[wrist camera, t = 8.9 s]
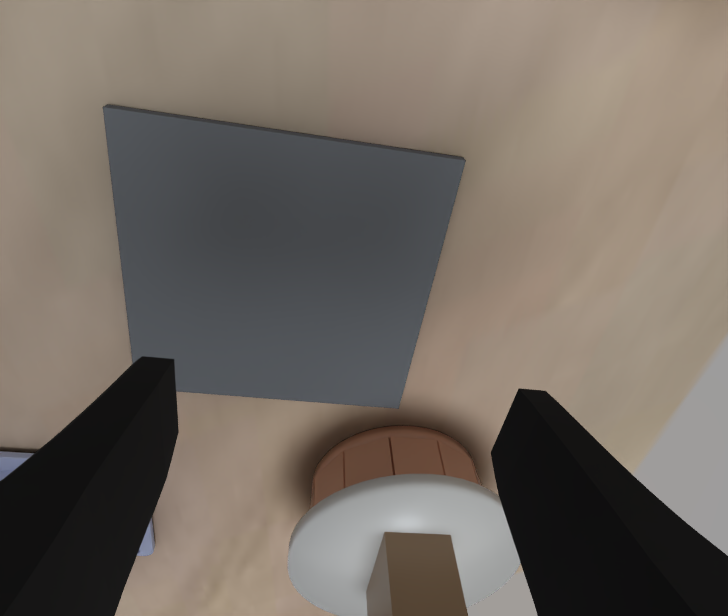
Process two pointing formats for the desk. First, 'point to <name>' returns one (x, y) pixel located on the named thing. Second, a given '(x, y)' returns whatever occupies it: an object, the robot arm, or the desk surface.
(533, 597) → the robot arm
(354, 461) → the bowl
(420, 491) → the lid
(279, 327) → the mat
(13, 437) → the desk surface
